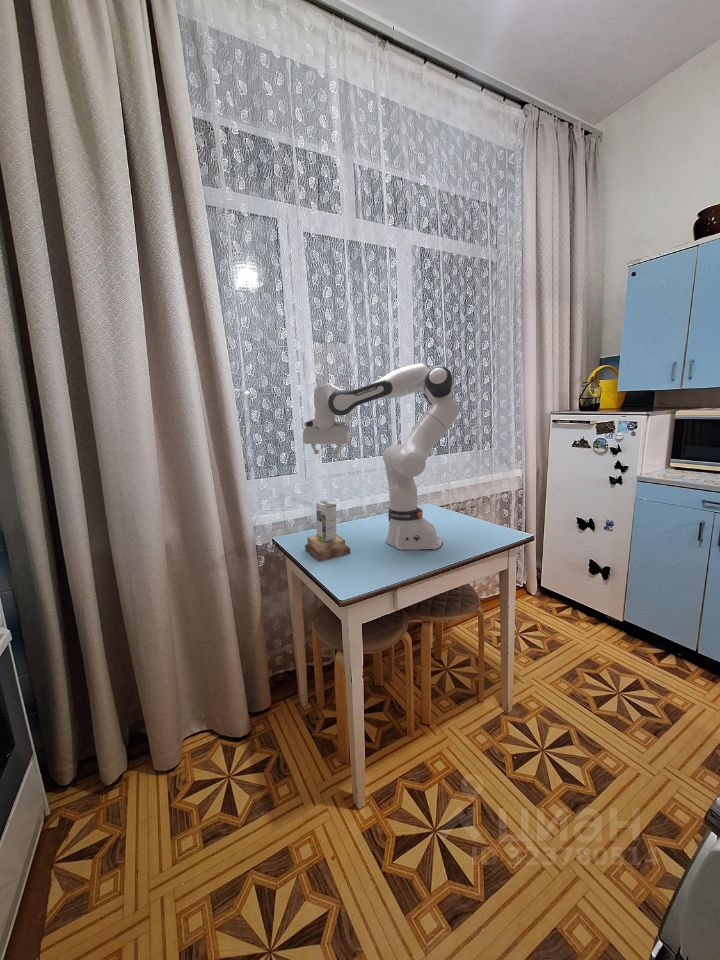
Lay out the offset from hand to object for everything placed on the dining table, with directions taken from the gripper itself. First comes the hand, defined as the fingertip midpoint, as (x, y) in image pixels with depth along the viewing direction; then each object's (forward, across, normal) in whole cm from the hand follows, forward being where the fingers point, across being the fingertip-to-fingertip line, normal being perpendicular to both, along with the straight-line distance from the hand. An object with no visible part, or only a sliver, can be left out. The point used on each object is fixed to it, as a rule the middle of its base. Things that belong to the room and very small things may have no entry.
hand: (326, 454), depth 171 cm
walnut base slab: (+35, -8, +26) cm, 44 cm away
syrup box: (+29, -8, +26) cm, 40 cm away
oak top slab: (+32, -8, +26) cm, 42 cm away
